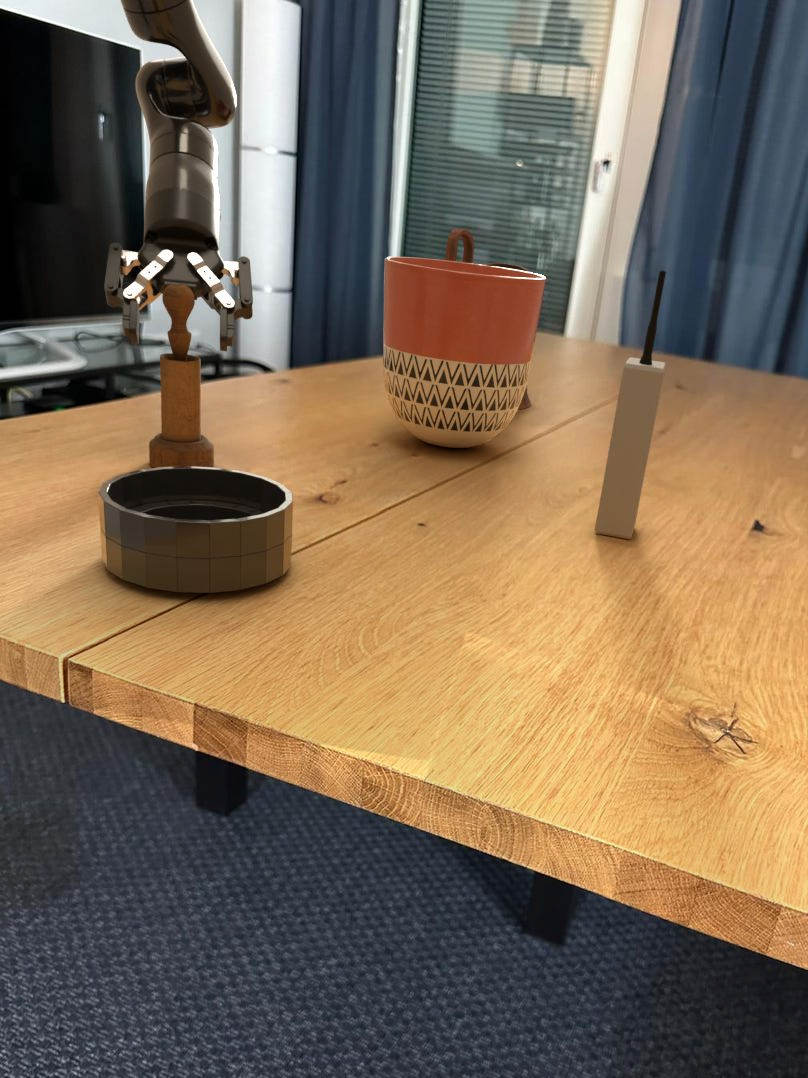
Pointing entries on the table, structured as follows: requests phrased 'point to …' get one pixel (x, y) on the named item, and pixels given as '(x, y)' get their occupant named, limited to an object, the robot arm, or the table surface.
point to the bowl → (195, 528)
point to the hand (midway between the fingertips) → (179, 342)
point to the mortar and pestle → (180, 392)
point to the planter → (457, 346)
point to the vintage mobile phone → (631, 435)
